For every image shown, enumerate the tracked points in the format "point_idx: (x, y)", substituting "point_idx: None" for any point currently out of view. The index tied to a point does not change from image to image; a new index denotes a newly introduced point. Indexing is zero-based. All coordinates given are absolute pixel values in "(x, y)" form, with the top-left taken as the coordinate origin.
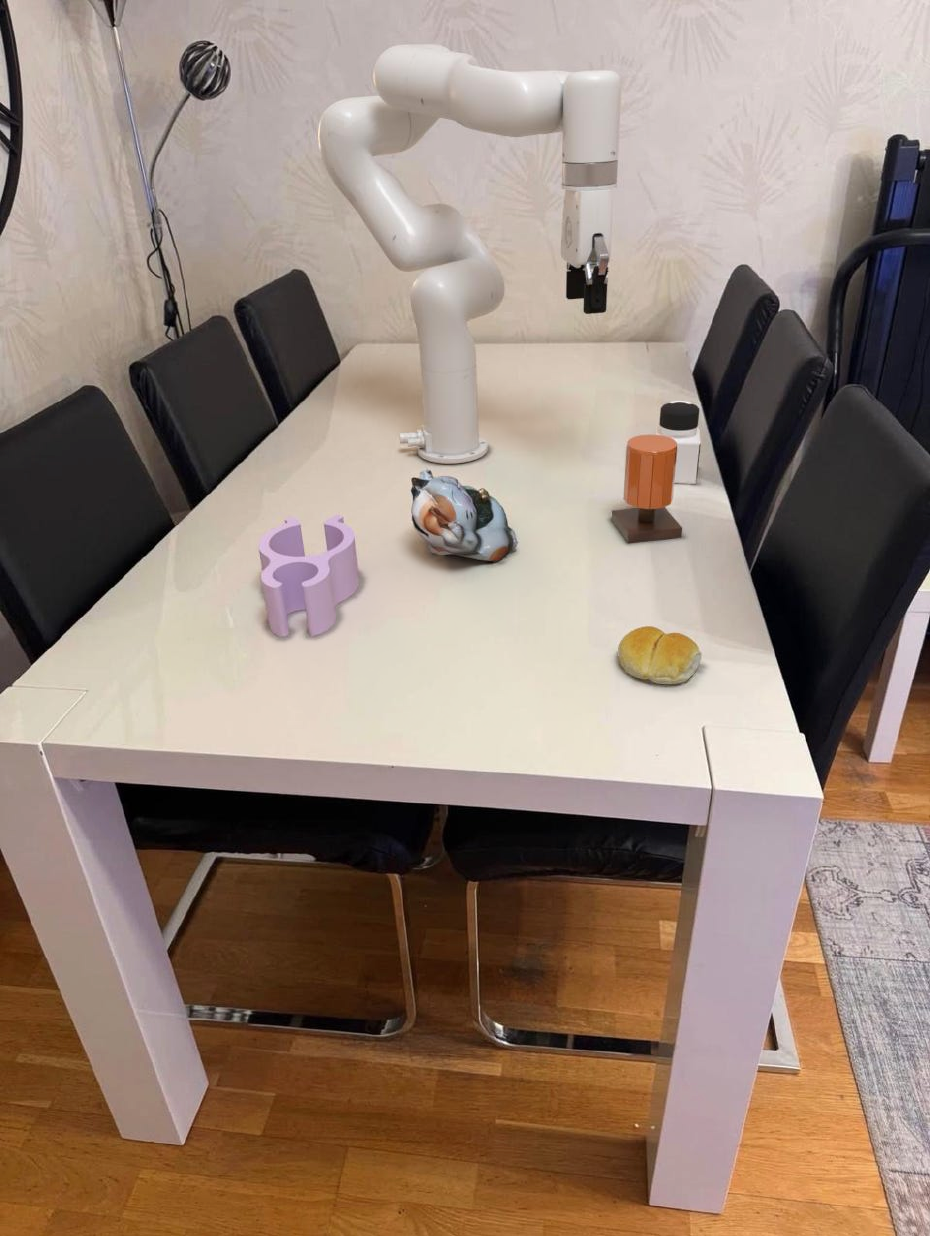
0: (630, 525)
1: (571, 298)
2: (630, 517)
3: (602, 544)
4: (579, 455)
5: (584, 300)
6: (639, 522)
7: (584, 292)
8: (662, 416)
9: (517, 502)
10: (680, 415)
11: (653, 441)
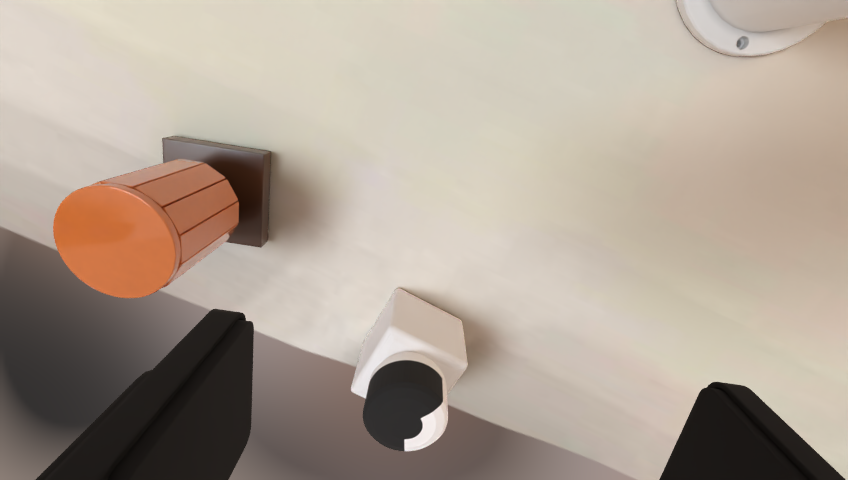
0: (192, 156)
1: (694, 404)
2: (225, 172)
3: (179, 91)
4: (577, 228)
5: (173, 361)
6: None
7: (131, 411)
8: (406, 374)
9: (409, 6)
10: (366, 400)
11: (123, 251)
